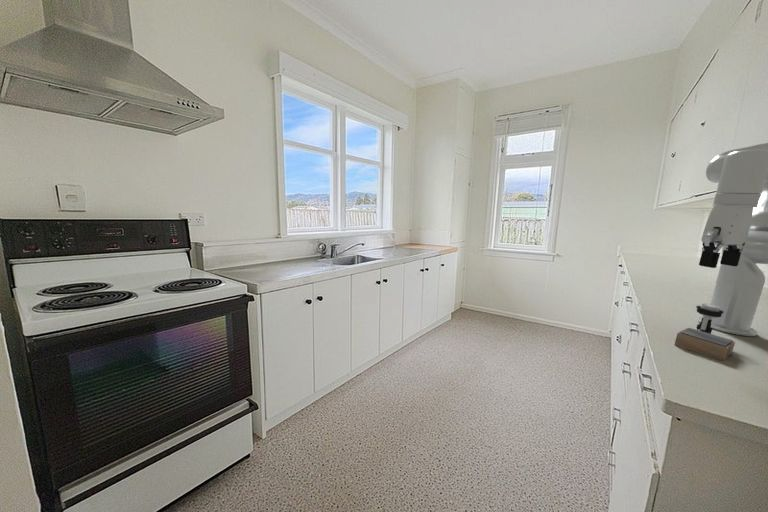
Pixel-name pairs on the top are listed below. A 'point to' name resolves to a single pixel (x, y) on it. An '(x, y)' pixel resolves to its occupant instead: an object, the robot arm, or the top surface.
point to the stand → (705, 343)
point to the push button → (707, 316)
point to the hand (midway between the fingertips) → (718, 266)
